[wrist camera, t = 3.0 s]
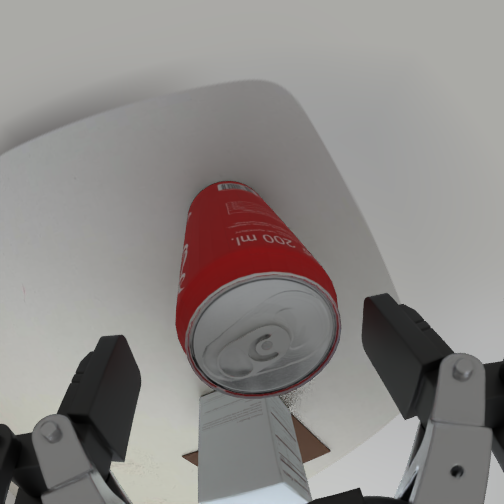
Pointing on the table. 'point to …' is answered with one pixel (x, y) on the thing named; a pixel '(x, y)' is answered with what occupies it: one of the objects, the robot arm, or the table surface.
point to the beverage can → (251, 298)
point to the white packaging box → (248, 452)
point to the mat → (305, 439)
